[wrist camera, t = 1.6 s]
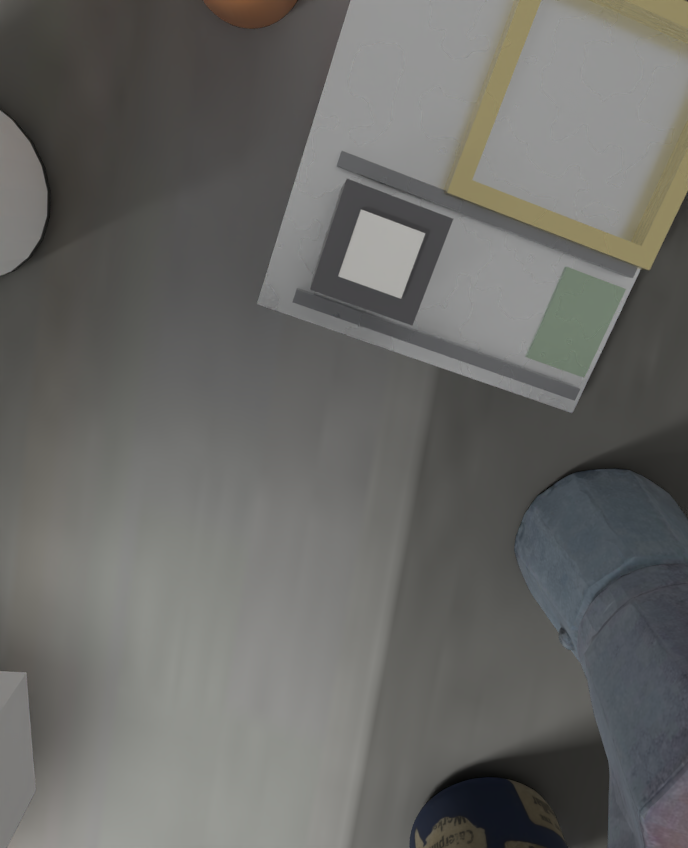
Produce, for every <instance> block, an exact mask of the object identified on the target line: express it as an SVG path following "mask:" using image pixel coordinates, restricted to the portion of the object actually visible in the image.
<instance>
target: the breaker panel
mask: <svg viewBox="0 0 688 848" xmlns="http://www.w3.org/2000/svg"><path fill="white" fill-rule="evenodd" d="M346 179H350V180H352V181H355V182H358V183H360V184H363V185H366V186H368V187H371V188H373V189H376V190H379V191H381V192H384V193H387V194H389V195H392V196H395V197H397V198H400V199H402V200H405V201H408V202H410V203H413V204H416V205H418V206H421V207H423V208H426V209H429V210H431V211H434V212H437V213H439V214H442V215H445V216H447V217H450V218H452V219H453V221H452V224H451V226H450V229H449V232H448V234H447V237H446V240H445V242H444V245H443V247H442V250H441V253H440V255H439V258H438V260H437V263H436V266H435V268H434V271H433V273H432V276H431V279H430V281H429V284H428V286H427V289H426V292H425V294H424V297H423V300H422V302H421V305H420V307H419V310H418V313H417V315H416V318H415V320H414V323H413V326H412V325H409V324H406V323H403V322H401V321H398V320H395V319H392V318H389V317H386V316H384V315H381V314H378V313H375V312H372V311H369V310H367V309H364V308H361V307H358V306H355V305H352V304H350V303H347V302H344V301H341V300H338V299H335V298H333V297H330V296H327V295H324V294H321V293H318V292H316V291H313V290H310V288H311V282H312V277H313V274H314V271H315V268H316V265H317V262H318V259H319V256H320V253H321V250H322V247H323V244H324V241H325V238H326V234H327V231H328V228H329V225H330V222H331V219H332V216H333V213H334V210H335V207H336V204H337V201H338V198H339V195H340V192H341V189H342V186H343V184H344V183H345V181H346ZM687 191H688V2H687V1H685V0H350V4H349V7H348V10H347V13H346V17H345V20H344V23H343V26H342V30H341V33H340V36H339V39H338V43H337V46H336V49H335V52H334V56H333V59H332V62H331V65H330V68H329V72H328V75H327V78H326V81H325V85H324V88H323V91H322V94H321V98H320V101H319V104H318V107H317V111H316V114H315V117H314V120H313V124H312V127H311V130H310V133H309V137H308V140H307V143H306V146H305V149H304V153H303V156H302V159H301V162H300V166H299V169H298V172H297V175H296V179H295V182H294V185H293V188H292V192H291V195H290V198H289V201H288V205H287V208H286V211H285V214H284V218H283V221H282V224H281V227H280V231H279V234H278V237H277V240H276V243H275V247H274V250H273V253H272V256H271V260H270V263H269V266H268V269H267V273H266V276H265V279H264V282H263V286H262V289H261V292H260V295H259V299H258V302H257V304H258V305H261V306H264V307H267V308H269V309H272V310H275V311H278V312H281V313H284V314H287V315H290V316H293V317H296V318H298V319H301V320H304V321H307V322H310V323H313V324H316V325H319V326H322V327H324V328H327V329H330V330H333V331H336V332H339V333H342V334H345V335H348V336H350V337H353V338H356V339H359V340H362V341H365V342H368V343H371V344H374V345H377V346H379V347H382V348H385V349H388V350H391V351H394V352H397V353H400V354H403V355H405V356H408V357H411V358H414V359H417V360H420V361H423V362H426V363H429V364H431V365H434V366H437V367H440V368H443V369H446V370H449V371H452V372H455V373H458V374H460V375H463V376H466V377H469V378H472V379H475V380H478V381H481V382H484V383H486V384H489V385H492V386H495V387H498V388H501V389H504V390H507V391H510V392H512V393H515V394H518V395H521V396H524V397H527V398H530V399H533V400H536V401H538V402H541V403H544V404H547V405H550V406H553V407H556V408H559V409H562V410H565V411H567V412H570V413H573V411H574V409H575V407H576V405H577V402H578V400H579V398H580V396H581V394H582V392H583V390H584V388H585V386H586V383H587V381H588V379H589V377H590V375H591V373H592V371H593V369H594V367H595V365H596V362H597V360H598V358H599V356H600V354H601V352H602V350H603V348H604V346H605V344H606V341H607V339H608V337H609V335H610V333H611V331H612V329H613V327H614V325H615V323H616V320H617V318H618V316H619V314H620V312H621V310H622V308H623V306H624V304H625V301H626V299H627V297H628V295H629V293H630V291H631V289H632V287H633V285H634V283H635V280H636V278H637V276H638V274H639V272H640V270H641V269H644V270H650V268H651V266H652V264H653V262H654V260H655V258H656V256H657V254H658V252H659V250H660V248H661V245H662V243H663V241H664V239H665V237H666V235H667V233H668V231H669V229H670V227H671V225H672V222H673V220H674V218H675V216H676V214H677V212H678V210H679V208H680V206H681V204H682V202H683V200H684V197H685V195H686V193H687Z"/></svg>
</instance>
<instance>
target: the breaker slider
mask: <svg viewBox="0 0 688 848" xmlns="http://www.w3.org/2000/svg"><path fill="white" fill-rule="evenodd" d="M452 221H453V219H452V218H450V217H447V216H445V215H442V214H439V213H437V212H434V211H431V210H429V209H426V208H423V207H421V206H418V205H416V204H413V203H410V202H408V201H405V200H402V199H400V198H397V197H395V196H392V195H389V194H387V193H384V192H381V191H379V190H376V189H373V188H371V187H368V186H366V185H363V184H360V183H358V182H355V181H352V180H350V179H346V181H345V183H344V184H343V186H342V189H341V192H340V195H339V198H338V201H337V204H336V207H335V210H334V213H333V216H332V219H331V222H330V225H329V228H328V231H327V234H326V238H325V241H324V244H323V247H322V250H321V253H320V256H319V259H318V262H317V265H316V268H315V271H314V274H313V277H312V282H311V288H310V290H313V291H316V292H318V293H321V294H324V295H327V296H330V297H333V298H335V299H338V300H341V301H344V302H347V303H350V304H352V305H355V306H358V307H361V308H364V309H367V310H369V311H372V312H375V313H378V314H381V315H384V316H386V317H389V318H392V319H395V320H398V321H401V322H403V323H406V324H409V325H412V326H413V323H414V320H415V318H416V315H417V313H418V310H419V307H420V305H421V302H422V300H423V297H424V294H425V292H426V289H427V286H428V284H429V281H430V279H431V276H432V273H433V271H434V268H435V266H436V263H437V260H438V258H439V255H440V253H441V250H442V247H443V245H444V242H445V240H446V237H447V234H448V232H449V229H450V226H451V224H452Z"/></svg>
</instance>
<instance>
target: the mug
mask: <svg viewBox="0 0 688 848" xmlns="http://www.w3.org/2000/svg"><path fill="white" fill-rule="evenodd" d="M49 217H50V188H49V184H48V180H47V175H46V171H45V167H44V164H43V162H42V160H41V158H40V156H39V154H38V152H37V150H36V148H35V146H34V144H33V142H32V141H31V140H30V138H29V137H28V136H27V135H26V134H25V132H24V131H23V130H22V129H21V127H20V126H19V125H18V124H17V122H16V121H15V120H14V119H12V118H11V117H10V116H8V115H7V114H6V113H5V112H3V111H2V110H1V109H0V276H3V275H5V274H8V273H10V272H13V271H15V270H16V269H17V268H18V267H19V266H21V265H22V264H23V263H24V262H26V261H27V260H28V259H29V258H30V257H31V256H32V255H33V253H34V252H35V250H36V249H37V247H38V246H39V244H40V242H41V241H42V239H43V237H44V234H45V231H46V227H47V224H48V221H49Z"/></svg>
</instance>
